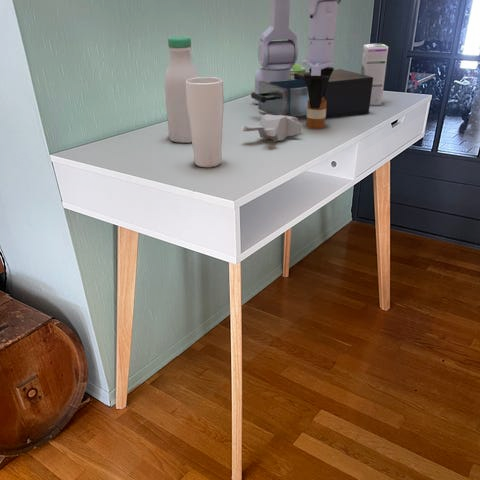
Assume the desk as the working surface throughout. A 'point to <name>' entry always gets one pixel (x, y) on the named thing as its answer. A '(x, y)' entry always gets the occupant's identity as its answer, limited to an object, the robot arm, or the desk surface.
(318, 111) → the bottle
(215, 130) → the drinking glass
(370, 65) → the syrup box
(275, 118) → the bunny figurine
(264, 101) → the drawer
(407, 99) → the desk surface
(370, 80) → the cabinet
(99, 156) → the desk surface
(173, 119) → the milk bottle
